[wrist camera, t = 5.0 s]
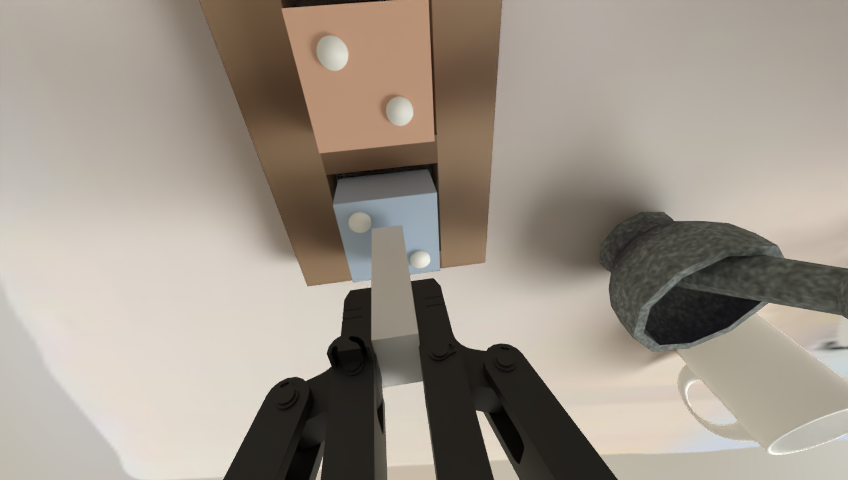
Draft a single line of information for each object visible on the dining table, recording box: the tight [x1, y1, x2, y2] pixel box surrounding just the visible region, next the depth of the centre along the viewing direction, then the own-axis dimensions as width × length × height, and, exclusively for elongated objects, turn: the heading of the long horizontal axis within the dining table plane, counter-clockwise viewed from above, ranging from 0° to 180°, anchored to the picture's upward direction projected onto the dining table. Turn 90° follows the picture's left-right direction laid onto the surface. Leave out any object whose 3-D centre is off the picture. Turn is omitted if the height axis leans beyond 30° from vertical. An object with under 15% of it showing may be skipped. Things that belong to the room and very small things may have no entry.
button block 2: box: [281, 0, 435, 153], centre depth 13 cm, size 5×5×3 cm
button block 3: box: [333, 169, 440, 282], centre depth 18 cm, size 5×5×3 cm
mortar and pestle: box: [600, 212, 848, 351], centre depth 21 cm, size 11×9×12 cm
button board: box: [199, 0, 502, 286], centre depth 15 cm, size 24×12×2 cm, turn 4°
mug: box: [677, 313, 848, 455], centre depth 32 cm, size 9×12×11 cm
